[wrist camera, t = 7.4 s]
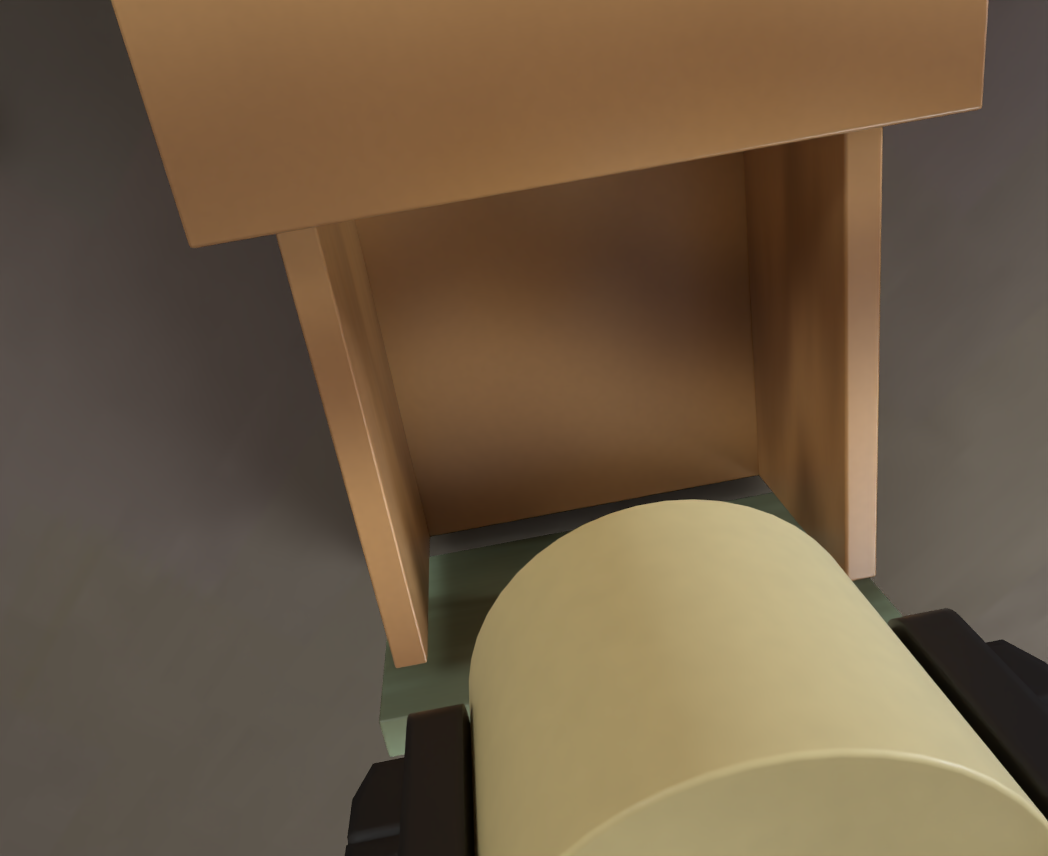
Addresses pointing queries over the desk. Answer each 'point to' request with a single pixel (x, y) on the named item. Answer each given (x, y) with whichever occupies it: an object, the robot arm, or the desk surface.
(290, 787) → the desk surface
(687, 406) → the drawer
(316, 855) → the desk surface
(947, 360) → the desk surface
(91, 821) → the desk surface
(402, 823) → the robot arm
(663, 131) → the cabinet
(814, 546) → the tape roll
